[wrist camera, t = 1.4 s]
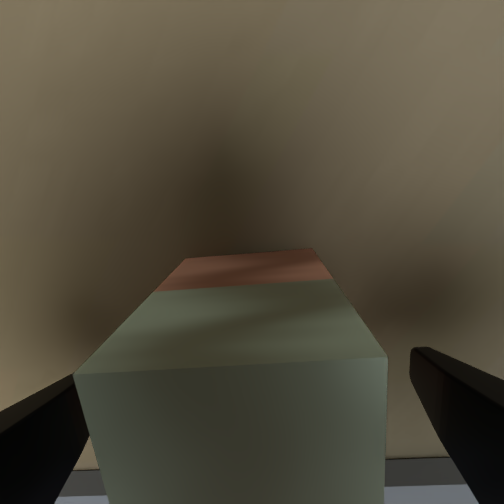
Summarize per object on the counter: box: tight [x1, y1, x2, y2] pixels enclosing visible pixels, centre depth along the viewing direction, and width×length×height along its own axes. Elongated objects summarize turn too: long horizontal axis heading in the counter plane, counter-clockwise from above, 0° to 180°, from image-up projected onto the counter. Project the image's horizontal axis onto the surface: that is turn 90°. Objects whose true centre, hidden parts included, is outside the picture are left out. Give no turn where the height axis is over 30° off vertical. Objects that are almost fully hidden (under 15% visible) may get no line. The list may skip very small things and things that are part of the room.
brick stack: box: [73, 248, 388, 504], centre depth 8 cm, size 5×5×7 cm
